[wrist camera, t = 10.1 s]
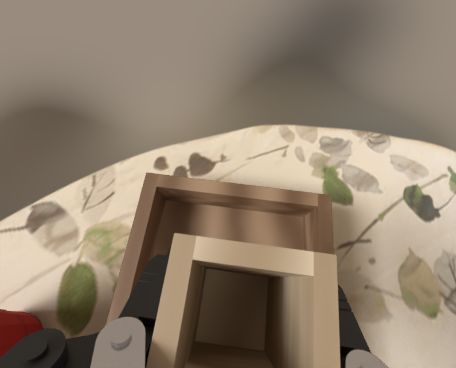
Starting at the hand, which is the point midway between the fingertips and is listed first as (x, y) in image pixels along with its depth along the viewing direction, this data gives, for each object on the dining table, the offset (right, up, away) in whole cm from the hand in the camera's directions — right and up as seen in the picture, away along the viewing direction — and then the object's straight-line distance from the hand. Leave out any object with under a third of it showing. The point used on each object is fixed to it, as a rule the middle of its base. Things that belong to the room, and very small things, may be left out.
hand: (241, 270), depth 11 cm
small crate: (0, -3, +3) cm, 5 cm away
